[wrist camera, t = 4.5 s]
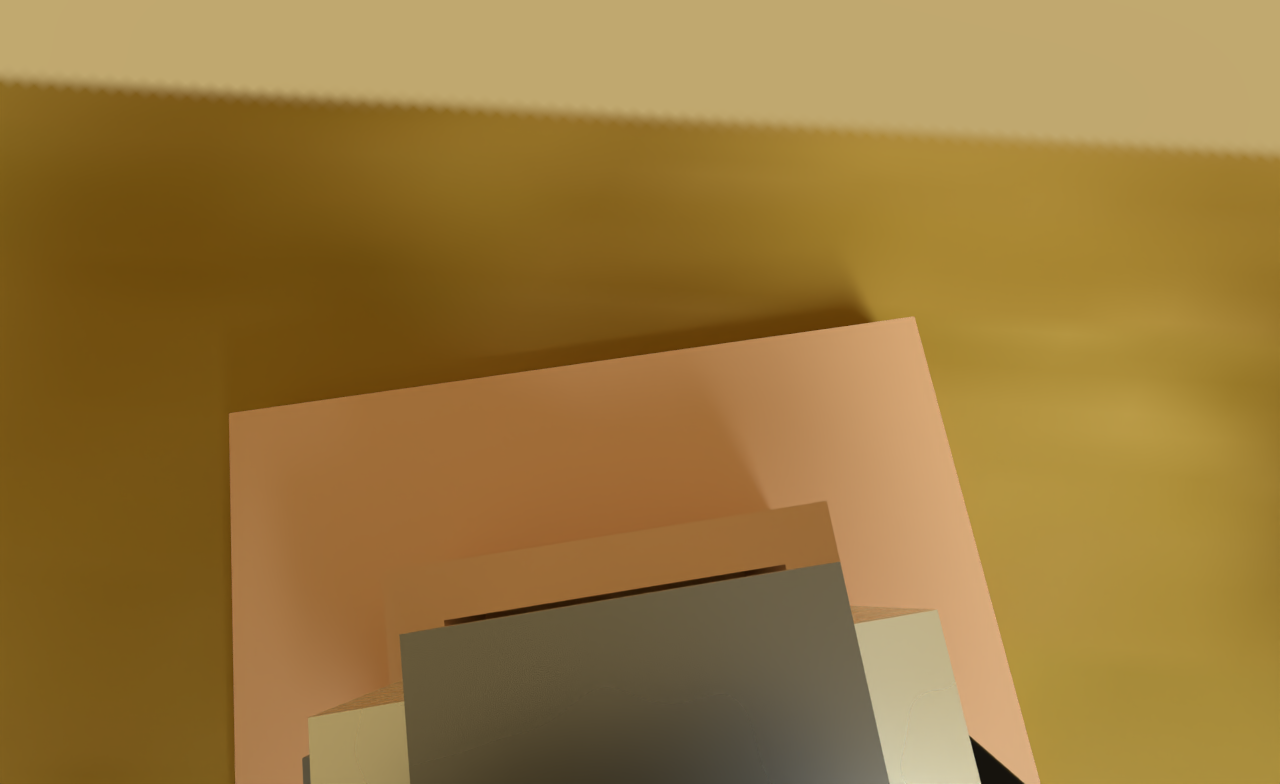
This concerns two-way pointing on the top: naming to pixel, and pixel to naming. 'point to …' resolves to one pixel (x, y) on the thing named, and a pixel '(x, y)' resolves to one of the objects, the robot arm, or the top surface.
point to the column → (665, 695)
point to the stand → (594, 513)
